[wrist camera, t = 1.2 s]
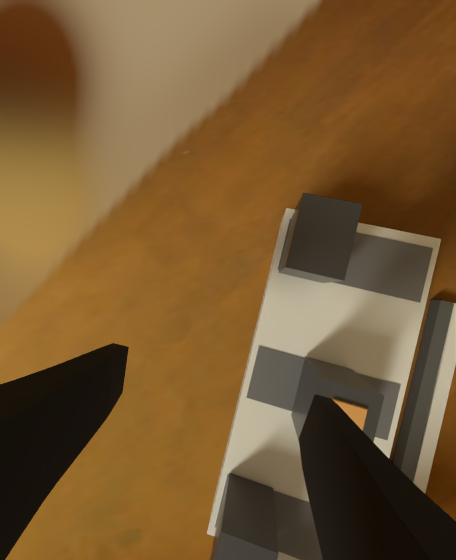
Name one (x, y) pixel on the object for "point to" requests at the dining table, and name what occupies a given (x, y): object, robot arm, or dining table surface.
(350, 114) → the dining table surface
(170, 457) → the dining table surface
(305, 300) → the white panel with blocks
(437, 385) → the long grey stick
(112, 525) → the dining table surface
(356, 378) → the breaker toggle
